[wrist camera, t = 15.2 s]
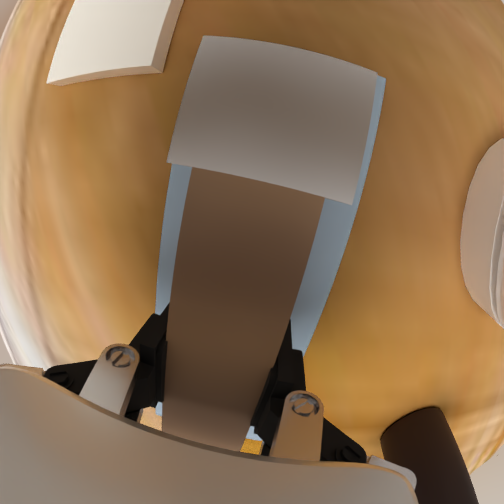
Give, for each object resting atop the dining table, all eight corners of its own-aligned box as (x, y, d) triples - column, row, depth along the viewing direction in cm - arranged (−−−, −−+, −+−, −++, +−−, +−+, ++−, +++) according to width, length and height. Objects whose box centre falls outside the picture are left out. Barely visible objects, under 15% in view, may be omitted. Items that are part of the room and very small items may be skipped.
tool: (225, 80, 10) (203, 35, 6) (343, 107, 9) (377, 72, 6) (167, 441, 15) (151, 482, 11) (235, 458, 15) (228, 502, 11)
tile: (64, 86, 12) (109, -31, 8) (165, 75, 12) (208, -51, 8) (46, 83, 10) (97, -41, 6) (151, 65, 10) (201, -66, 6)
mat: (208, 43, 11) (204, 37, 10) (380, 82, 10) (386, 78, 10) (158, 407, 19) (155, 414, 18) (261, 433, 19) (261, 440, 18)
